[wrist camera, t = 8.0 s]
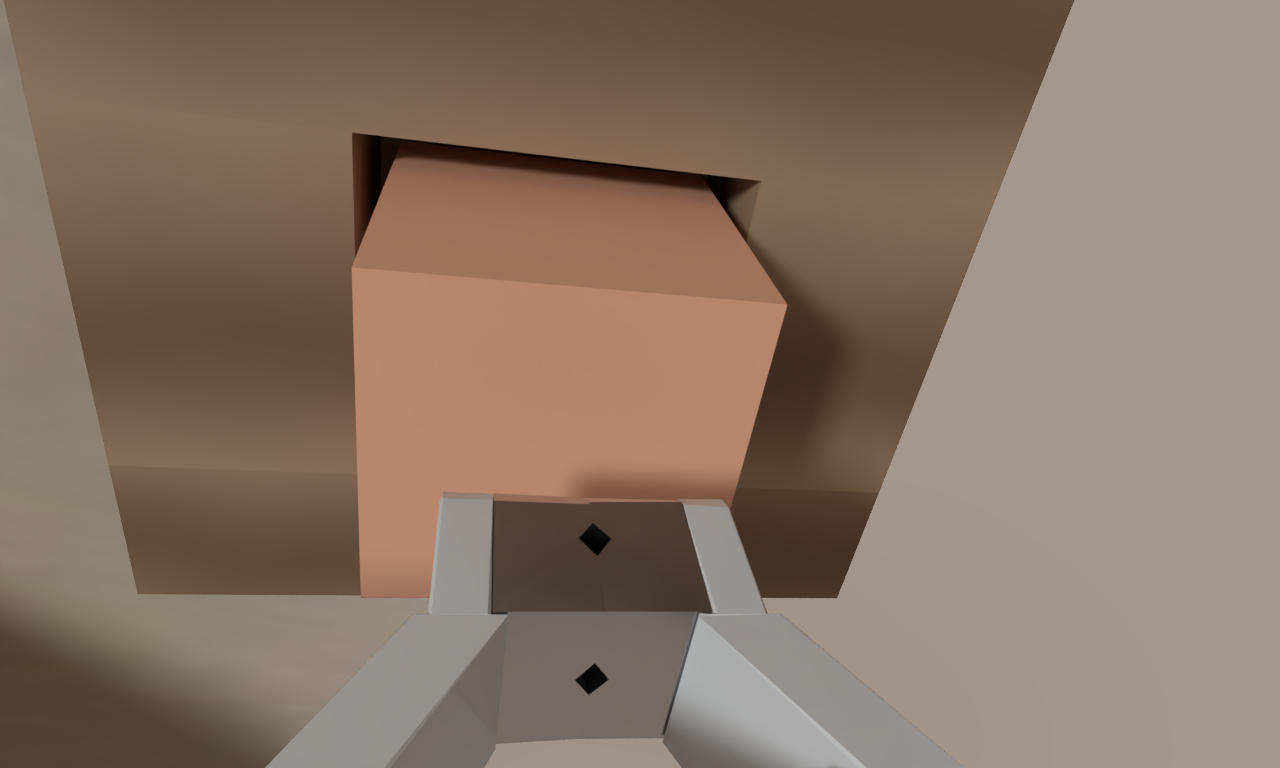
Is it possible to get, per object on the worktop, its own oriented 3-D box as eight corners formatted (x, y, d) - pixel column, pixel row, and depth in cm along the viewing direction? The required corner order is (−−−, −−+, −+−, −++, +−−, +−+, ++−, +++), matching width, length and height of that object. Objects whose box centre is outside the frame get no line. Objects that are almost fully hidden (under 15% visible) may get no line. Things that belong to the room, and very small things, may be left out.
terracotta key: (401, 140, 13) (351, 267, 9) (701, 175, 14) (787, 304, 10) (400, 401, 15) (360, 597, 11) (653, 415, 16) (705, 599, 12)
